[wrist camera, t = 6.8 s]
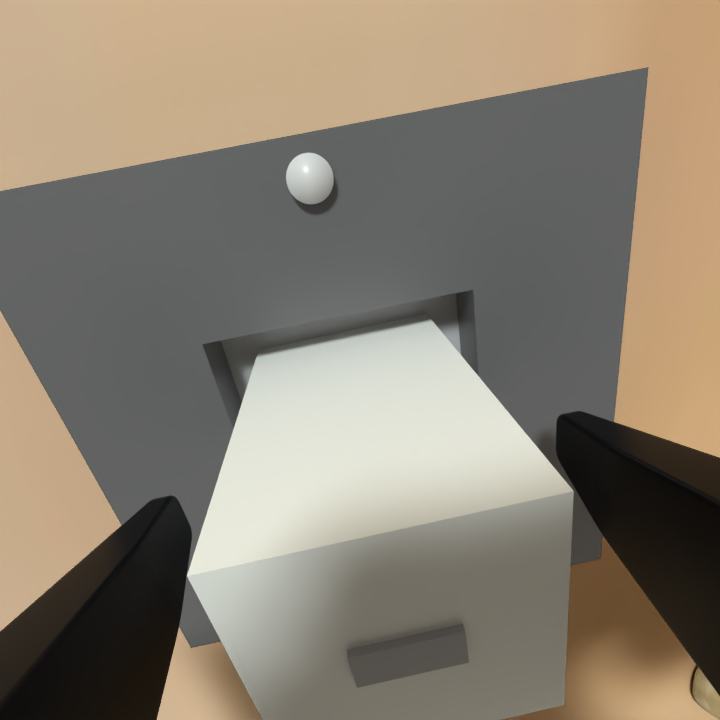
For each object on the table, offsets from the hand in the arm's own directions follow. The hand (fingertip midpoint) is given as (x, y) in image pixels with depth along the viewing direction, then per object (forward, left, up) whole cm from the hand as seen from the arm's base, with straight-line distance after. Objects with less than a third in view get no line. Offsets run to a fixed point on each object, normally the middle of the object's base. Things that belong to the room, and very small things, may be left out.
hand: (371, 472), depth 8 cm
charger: (0, 0, -3) cm, 3 cm away
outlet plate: (0, 0, -3) cm, 3 cm away
